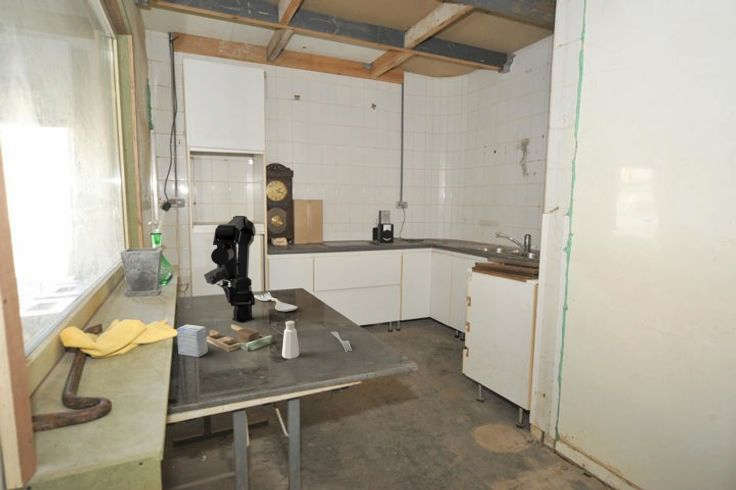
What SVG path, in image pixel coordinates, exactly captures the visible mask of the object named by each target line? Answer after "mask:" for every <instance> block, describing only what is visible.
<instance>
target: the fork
mask: <svg viewBox="0 0 736 490" xmlns="http://www.w3.org/2000/svg"><path fill="white" fill-rule="evenodd" d="M330 334H332V335H333V336H334V337H335V338H337V339H338V341H339V343H341V345H342V346H343V348H344V350H345V352H346V353H347V352H348V351H350V352H351V351H352V352H353V350H352V346H351V344H350V341H349V340H343V339H342V337H341V336H340V333H339V332H338V331H330Z"/></svg>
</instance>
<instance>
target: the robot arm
mask: <svg viewBox="0 0 736 490" xmlns="http://www.w3.org/2000/svg"><path fill="white" fill-rule="evenodd" d="M256 234H257V233H256V227H255V223H254V222H252V221H251V220H250V219H248V217H247V216H246V215H234V216H233V217H232V219H231V220H230V221H229V222H227V223H221V224H218V225H217V227H216V228H215V230H214V234H213V235H214V236H213V241H212V246H216V248H214V249H213V250H212V252H211V254H210V258H211V261H212V262H213V263H214V264H215V265H216V268H214V269H212V270H210V271H208V272H207V273H205V274H203V277H204V279H205V281H206V283H207V284H210V285H215V284H216V285H217V286H219V287H220V288H222V290H223V292H224V295H225V298H226V300H227V303H228V304H230V306H231V307H234V308H233V310H232V312H233V313H232V315H233V317H232V321H236V322H238V323H245V322H248V321H251V320H255V316H253V306H255V305H256V298H255V297H254V295H255V294H254V292H253V289H252V285H253V283H252V279H251V278H250V277H249V265H250V262H249V261H250V246H251V245H252V244H253V242H254V241H255V236H256Z"/></svg>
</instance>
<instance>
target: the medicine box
mask: <svg viewBox="0 0 736 490" xmlns="http://www.w3.org/2000/svg"><path fill="white" fill-rule="evenodd" d="M177 332H178V333H177ZM176 334H177V335H176V337H177V350H178V351H177V352H178V355H183V356H188V357H194V358H195V357H196V358H200V357H202V356H204V355H205V354H207V353H208V342H207V336H208V335H207V327H206V326H202V325H196V324H194V325H193V324H184V325H183V326H180V327H178V328H176Z"/></svg>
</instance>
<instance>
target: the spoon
mask: <svg viewBox="0 0 736 490" xmlns="http://www.w3.org/2000/svg"><path fill="white" fill-rule="evenodd" d="M254 297H255V299H257V300H259V301H261V302H269V301H271V302H275V303H276V304H275V306H274V309H275V310H276V311H278V312H283V313H286V312H291V311H295V310H297V309H298V306H297V305H294V304H289V303H286V302H282V301H280V300H279V299H278V298H276V297H273V296H272V294H271V293H270V292H269V291H267V293H263V294H260V295H259V294H257V295H256V294H254Z"/></svg>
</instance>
